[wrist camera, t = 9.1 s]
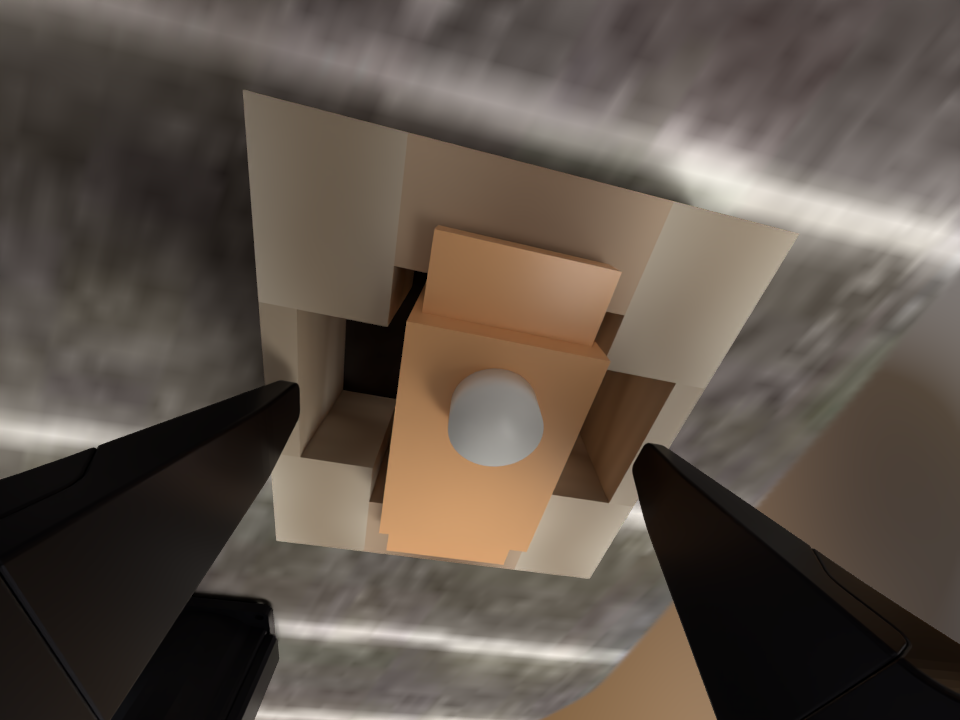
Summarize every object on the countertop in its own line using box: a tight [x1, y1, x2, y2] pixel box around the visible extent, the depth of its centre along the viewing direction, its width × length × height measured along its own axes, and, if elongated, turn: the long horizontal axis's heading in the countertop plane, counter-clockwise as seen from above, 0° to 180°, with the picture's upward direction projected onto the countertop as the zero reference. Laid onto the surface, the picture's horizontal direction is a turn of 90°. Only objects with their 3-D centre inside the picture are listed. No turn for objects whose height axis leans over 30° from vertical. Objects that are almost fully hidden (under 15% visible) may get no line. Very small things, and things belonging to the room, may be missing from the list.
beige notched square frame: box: [243, 90, 799, 579], centre depth 11 cm, size 11×12×4 cm
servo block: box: [379, 225, 622, 565], centre depth 10 cm, size 4×9×6 cm, turn 168°
